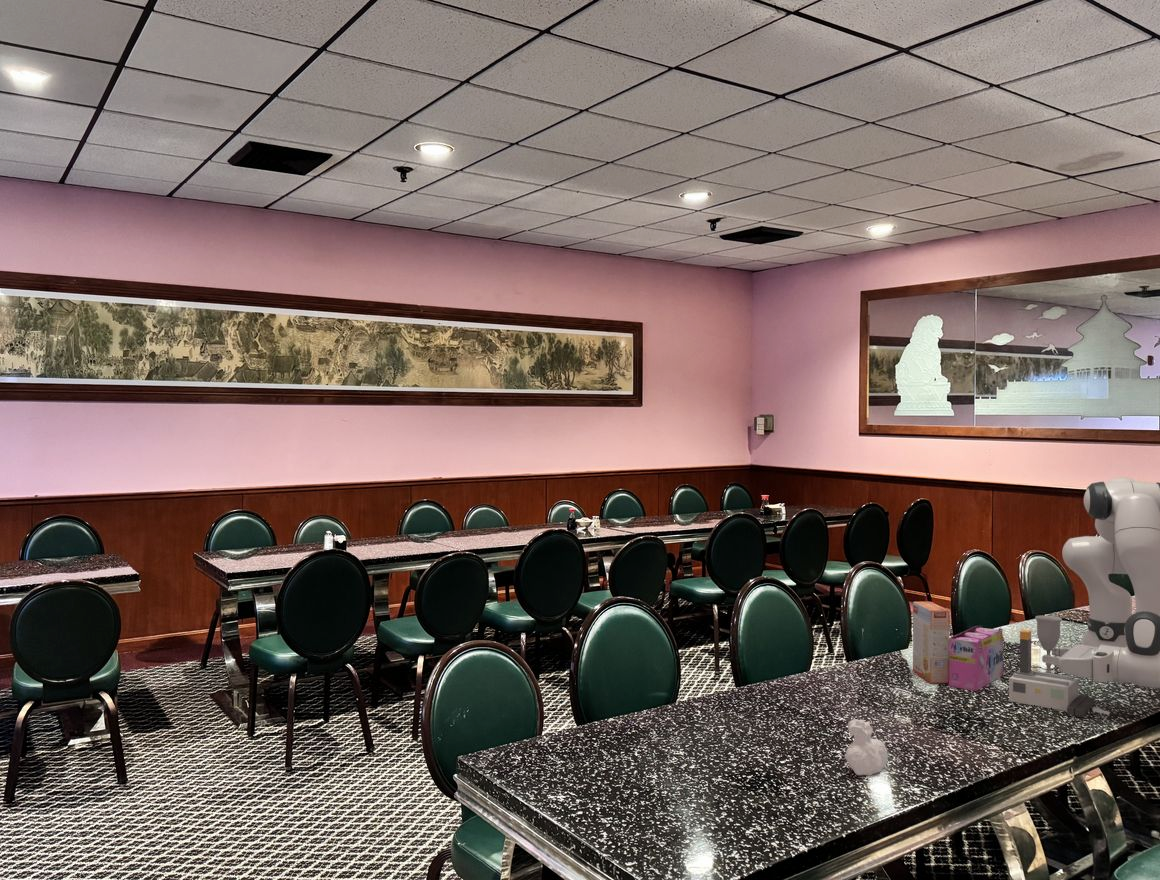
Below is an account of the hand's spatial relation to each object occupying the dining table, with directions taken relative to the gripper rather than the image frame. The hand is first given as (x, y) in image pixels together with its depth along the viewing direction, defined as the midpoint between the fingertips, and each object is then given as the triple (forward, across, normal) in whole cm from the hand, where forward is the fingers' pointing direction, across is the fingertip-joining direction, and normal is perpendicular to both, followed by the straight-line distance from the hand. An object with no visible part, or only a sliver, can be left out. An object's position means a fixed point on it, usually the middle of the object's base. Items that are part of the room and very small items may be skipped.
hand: (1047, 654), depth 239 cm
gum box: (+21, -10, +13) cm, 26 cm away
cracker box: (+32, -5, +13) cm, 35 cm away
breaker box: (+1, 0, +12) cm, 12 cm away
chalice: (+5, -22, +13) cm, 26 cm away
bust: (+17, +77, +12) cm, 80 cm away
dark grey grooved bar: (-8, 0, +12) cm, 15 cm away
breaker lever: (+5, 0, +6) cm, 8 cm away
